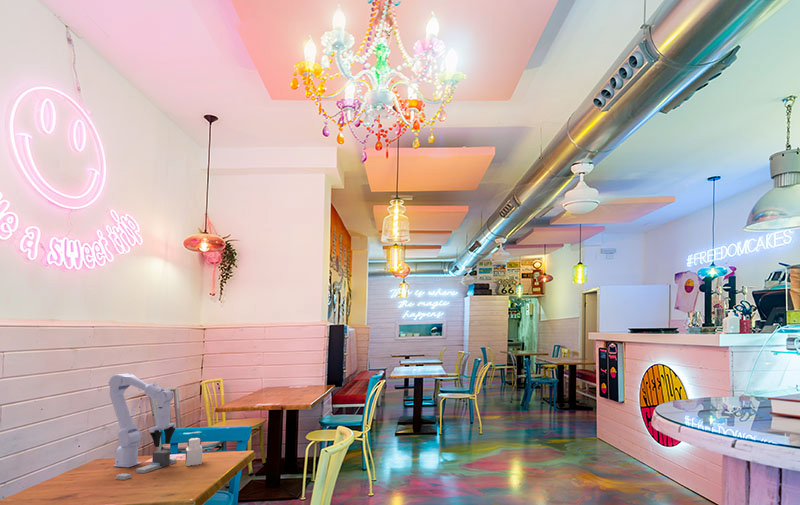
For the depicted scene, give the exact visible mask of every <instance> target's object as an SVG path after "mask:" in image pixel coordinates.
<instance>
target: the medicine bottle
mask: <svg viewBox="0 0 800 505" xmlns="http://www.w3.org/2000/svg"><path fill="white" fill-rule="evenodd" d="M199 464H200V465H203V447H202V438H201V437H198V436H194V437H190V438H188V439H187V447H186V448H185V467H189V466H190V467H191V465H192V466H198V465H199ZM200 465H199V466H200Z"/></svg>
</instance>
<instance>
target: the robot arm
mask: <svg viewBox="0 0 800 505" xmlns="http://www.w3.org/2000/svg"><path fill="white" fill-rule="evenodd" d="M107 383H108V386H109V398H110V400H111V403H112V406H113V409H114V412H115V415H116V418H117V422H118V425H119V431H118V432H117V436H118V440H117V442H118V444H119V446H118V447H117V449H116V451H115V462H114V465H113V467H116V468H117V467H118V468H119V467H120V468H121V467H122V468H130V467H133V466H137V465H140V464H142V461H141V462H140V461H138V455H139V445H140V442H141V441H142V439H143V433H142V431H141V430H140V429H139V427H138V425H136V424H134V422H133V420H132V417H131V414H130V411H129V408H128V404H127V402H126V398H125V396H124V394H125V392H126V390H127V389H128V388H129V387H130V386H133V387H135V388H138V389H139V390H142V391H144V394H145V395H146V396H148V397H150V398H152V399H154V400H155V402H156V406H157V411H156V412H157V413H156V425H155V426H152V427H149V435H150V436H151V438H152V441H153V445H154V447H155V448H160V442H161V437H162V434H163V432H164V442H165V444H167V445H170V444H171V440H172V437H173V436H174V432H175V431H176V426H177V423H176V422H170V421H171V401H172V400H173V398H174V392H173V391H172V390H171V389H165V388H164V387H160V386H158V385H157V383H147V382H145V381H144V380H142V379H140V378H138V377H137V376H136V375H135V374H132V373H130V372H126V373H120V374H117V373H116V374H113V375H112V376H111V377H110V379H109V381H108V382H107ZM162 431H163V432H162Z"/></svg>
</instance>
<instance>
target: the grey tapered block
mask: <svg viewBox="0 0 800 505" xmlns="http://www.w3.org/2000/svg"><path fill="white" fill-rule="evenodd" d="M170 459H171V451H167V450H156V451H153V452H152V459H151V460H152V461H151V463H160V466H164V467H167V466H170V465H171V464H170ZM169 464H170V465H169Z"/></svg>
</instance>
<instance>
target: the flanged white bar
mask: <svg viewBox="0 0 800 505" xmlns="http://www.w3.org/2000/svg"><path fill="white" fill-rule="evenodd" d="M176 463H177V458H170V464H169V465H168V466H170V465H172V464H176ZM162 468H164V467H163V466H160V463H152V462H150V464H148V465H145V466H144V465H143V466H142V467H138V468H136V469H135V473H137V474H146V473H149V472H152V471H156V470H158V469H162ZM131 478H132V473H120V474H116V476H115V480H122V481H126V480H129V479H131Z"/></svg>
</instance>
